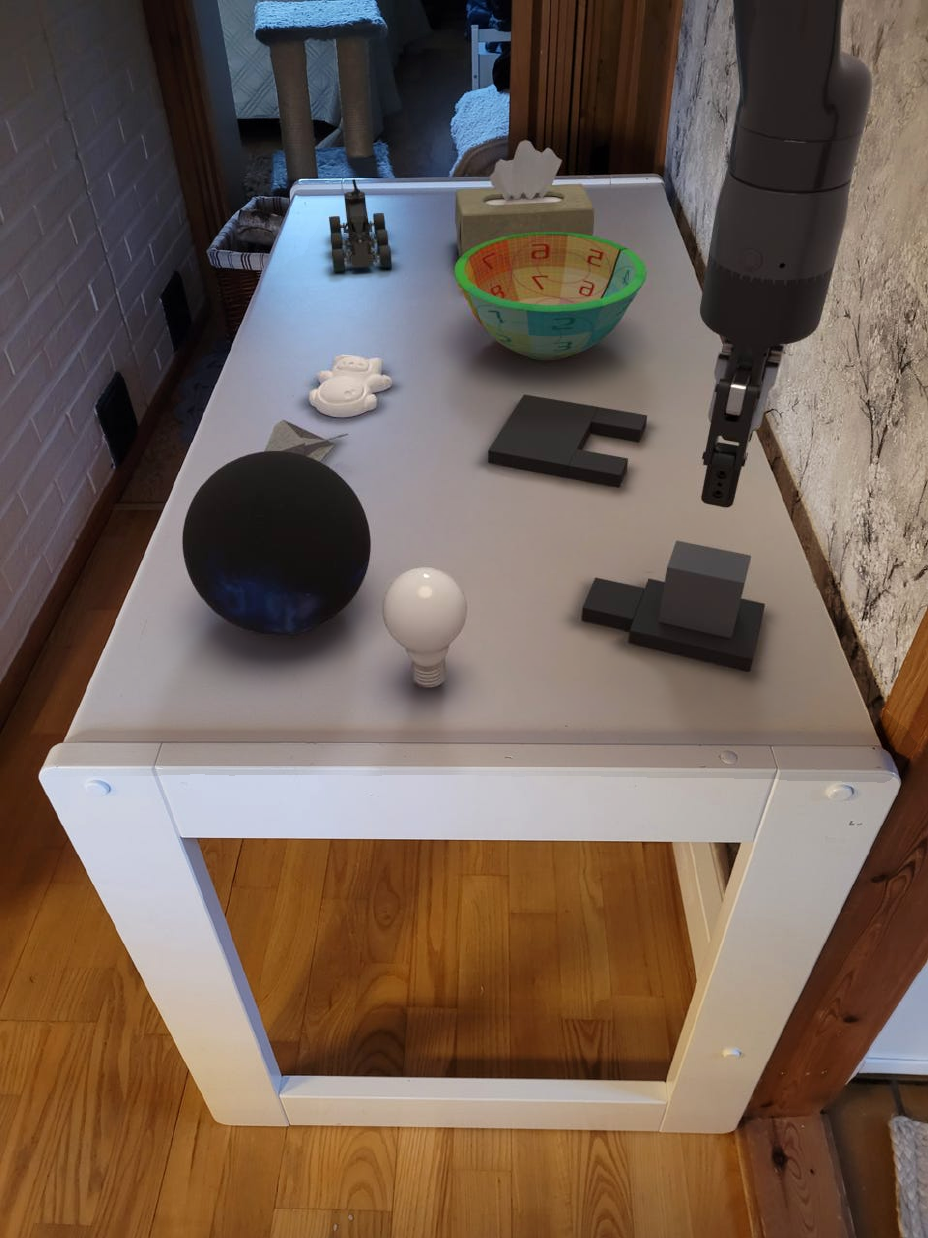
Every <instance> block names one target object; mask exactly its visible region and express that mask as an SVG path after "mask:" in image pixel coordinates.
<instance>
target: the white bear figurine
mask: <svg viewBox="0 0 928 1238" xmlns="http://www.w3.org/2000/svg"><path fill="white" fill-rule="evenodd" d="M332 362H333V365H332V368H331V370H321V371H320V372H318V374H317V379H318V382H319V384H320V385H318V388H314V389H312V390H311V391H310V392H309V394H308V401H309V404H310V405H311V406H312V407H315V409H316V410H317V411H318V412H319V413H321V414H323V415H326V416H329V417H332V418H351V417H355V416H360V415H363V414H364V413H366V412H370V411H374V410H375V409H376V408H377V405H378V399H377V396H376V395H375V394H374V393H378V392H384V391H386V390H388V389H389V388H391V386H392V384H393V380H392V378H391V377H390V376H388V375H386V374H382V373H383V360H382V359H381V358H379V357H371V358H369V359H368V358H366V357H363V356H360V355H351V354H350V355H349V354H344V353H343V354H341V355H340V354H339V355H337V356H335V357H334V358H333V359H332Z"/></svg>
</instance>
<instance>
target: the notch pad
mask: <svg viewBox="0 0 928 1238" xmlns="http://www.w3.org/2000/svg"><path fill="white" fill-rule="evenodd" d="M647 421H648V415H647V414H643V413H636V412H630V411H625V410H619V409H613V408H608V407H601V406H595V405H590V404H584V403H577V402H573V401H565V400H560V399H555V398H548V397H544V396H543V397H542V396H537V395H531V394H525V393H524V394H523V395H522V397H521V398H520V400H519V401H518V403H517V405H516V406H515V407H514V409H513V411H512V412H511V414H510V415H509V417H508V418H507V420H506V422H505V423H504V425H502V428H501V429H500V431H499V432H498V434H497V435H496V437H495V439H494V440H493V442H492V443H491V445H490V446H489V448H488V450H487V461H488V463H490V464H495V465H500V466H506V467H511V468H516V469H520V470H526V471H531V472H536V473H542V474H547V475H553V476H556V477H557V476H558V477H562V478H563V477H564V478H569V479H573V480H579V481H585V482H590V483H595V484H600V485H604V486H605V485H606V486H609V487H616V488H620V487H621V485H622V483H623V480H624V477H625V476H626V473H627V471H628V464H629V458H628V457H623V456H617V455H611V454H608V453H607V454H606V453H602V452H601V453H600V452H595V451H590V450H589V451H588V450H584V449H583V448H584V446H585V444H586V442H587V440H588V439H589V437H590V435H591V434H593V435H598V436H604V437H609V438H615V439H621V440H626V441H632V442H637V443H640V441H641V438H642V437H643V434H644V432H645V431H646V427H647Z"/></svg>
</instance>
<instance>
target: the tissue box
mask: <svg viewBox="0 0 928 1238" xmlns="http://www.w3.org/2000/svg"><path fill="white" fill-rule="evenodd" d="M562 162H563V159H561V158H559V157H557V155H556V154H555V152H554V151H553V150H552V149H551V148H550V147H547V148H546V149H544V150H543V151H538V150H537V149H535V147H534V145H533V143H532V142H531V141H529V140H527V139H525V140H522V141H519V143H518V145H517V148H516V150H515V153H514V157H513V159H510V160H505V159H501V158H500V159H499V160H498V161H496V162H495V166H494V171H493V172H492V173H491V174H490V176H489V179H490V180H489V181H490V183H491V186H492V187H487V188H468V189H467V188H466V189H456V191H455V205H454V206H455V207H454V209H455V210H454V224H455V228H456V246H457V251H458V256H459V259H460V258H461V257H462V255H463V254H464V253H466V252H467V251H469V250H470V249H472V248H474V247H476V246H478V245H480V244H482V243H484V242H487V241H490V240H493V239H497V238H500V237H504V236H510V235H515V234H523V233H533V232H565V233H575V234H583V235H588V236H594V227H595V225H594V223H595V222H594V221H595V207H594V205H593V203H592V201H591V199H590V197H589V195H588V193H587V191H586V188H585V187H584V185H583V184H582V183H564V184H562V183H561V184H553V183H554V180H555V179H556V176H557V173H558V171H559V169H560V167H561V164H562Z"/></svg>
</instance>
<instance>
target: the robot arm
mask: <svg viewBox="0 0 928 1238" xmlns="http://www.w3.org/2000/svg"><path fill="white" fill-rule="evenodd" d="M844 4H845V0H732V5H733V20H734V35H735V37H734V38H735V54H736V55H735V56H736V63H737V64H736V65H737V74H738V82H739V95H738V96H739V98H738V103H737V108H736V112H735V118H734V122H733V123H734V124H733V128H732V129H733V130H732V135H731V140H730V141H731V142H730V146H729V153H728V159H727V167H726V169H725V170H726V171H725V176H724V180H723V183H722V186H721V190H720V193H719V197H718V199H717V203H716V208H715V212H714V220H713V226H712V231H711V237H710V238H711V239H710V244H709V250H708V254H707V255H708V256H707V262H706V268H705V274H704V279H703V280H704V281H703V287H702V293H701V299H700V305H699V315H700V318H701V320H702V322H703V323H704V324H705V326H706V327H707V328H708V329H709V330H710V331H712V332H713V333H714V334H717V335H719V336H722V337H723V338H724V339H723V343H722V347H721V352H718V354H717V358H716V363H715V367H714V370H713V374H714V375H713V376H714V379H715V383H714V388H713V392H712V396H711V401H710V404H709V410H708V414H707V418H708V420H709V422H710V424H709V429H708V436H707V441H706V444H705V445H706V446H705V451H703V452H702V455H701V460H702V461H703V462H702V465H703V466H706V469H705V474H704V479H703V484H702V491H701V495H700V500H701V501H702V503H704V504H705V505H710V506H715V507H720V508H725V509H726V508H731V507H732V506H733V504H734V502H735V498H736V493H737V490H738V484H739V480H740V476H741V472H742V468H743V467H745V466H746V461H747V460H748V456H749V452H747V451H748V446H749V443H751V441H752V437H753V433H754V432H756V431H758V430H759V429H760V428H761V425H762V422H763V417H764V413H765V410H766V406H767V402H768V397H769V394H770V390H772V389H773V388H774V387H775V384H776V380H777V376H778V373H779V368H780V366H781V363H782V358H783V354H784V350H785V345H790V344H795V343H798V342H800V341H802V340H804V339H806V338H809V337H810V336H811V335H812V334H813V333H815V331H816V330H817V328H818V327H819V325H820V322H821V318H822V315H823V311H824V307H825V303H826V299H827V295H828V291H829V287H830V283H831V280H832V275H833V271H834V266H835V264H836V260H837V256H838V252H839V248H840V246H841V245H840V244H841V241H842V237H843V233H844V229H845V224H846V220H847V214H848V213H847V212H848V206H849V196H850V189H851V184H852V179H853V178H852V177H853V174H854V170H855V166H856V162H857V158H858V154H859V150H860V148H861V147H860V146H861V142H862V138H863V135H864V131H865V126H866V123H867V120H868V114H869V110H870V106H871V100H872V92H873V78H872V74H871V71H870V69H869V67H868V66H867V64H865V62H863V61H862V59H860V58H859V57H857V56H856V55H853V54H850V53H848V52H845V51H842V45H841V44H842V43H841V42H842V16H843V14H842V13H843V9H844V8H843V7H844ZM720 437H721V438H722V439H723V440H724V441H726V442H731V443H725V442H720V441H719V439H720ZM732 443H738V445H737V444H732Z"/></svg>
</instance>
